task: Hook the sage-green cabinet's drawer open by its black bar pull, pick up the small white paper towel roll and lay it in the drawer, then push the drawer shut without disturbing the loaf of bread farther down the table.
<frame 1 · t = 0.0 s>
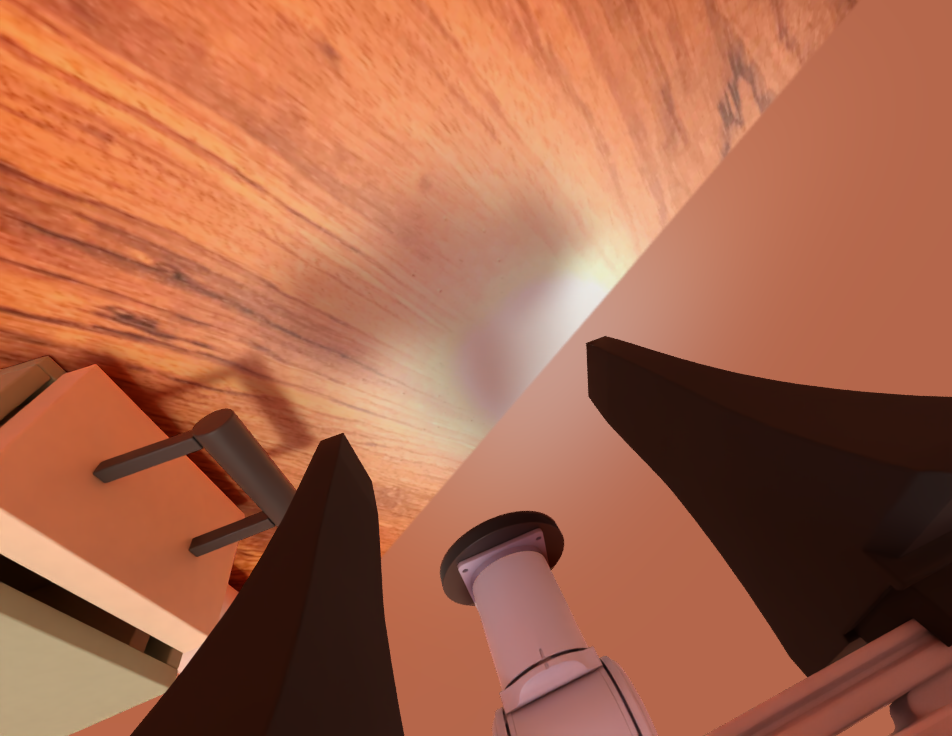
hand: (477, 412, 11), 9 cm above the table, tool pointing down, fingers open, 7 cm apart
paper towel roll: (213, 590, 23), on the table
drawer: (50, 545, 14), point 4 cm above the table, slide at 0.5 cm
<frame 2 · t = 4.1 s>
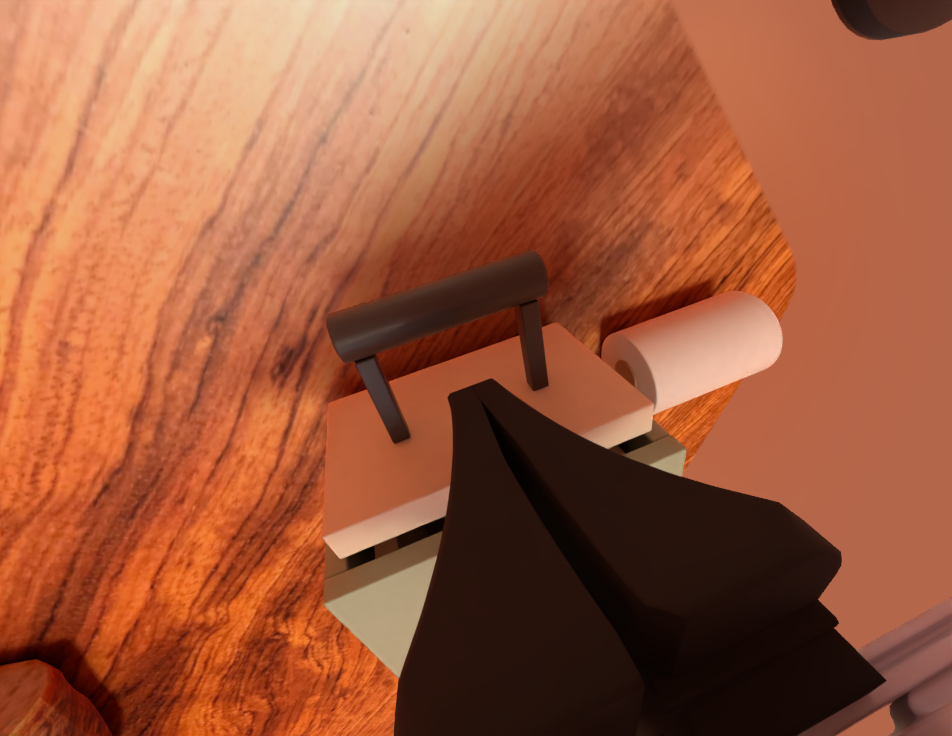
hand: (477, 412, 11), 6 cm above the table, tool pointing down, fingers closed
cabinet: (480, 470, 21), on the table
paper towel roll: (662, 365, 20), point 1 cm above the table, tilted 50°
drawer: (488, 472, 15), point 4 cm above the table, slide at 0.3 cm
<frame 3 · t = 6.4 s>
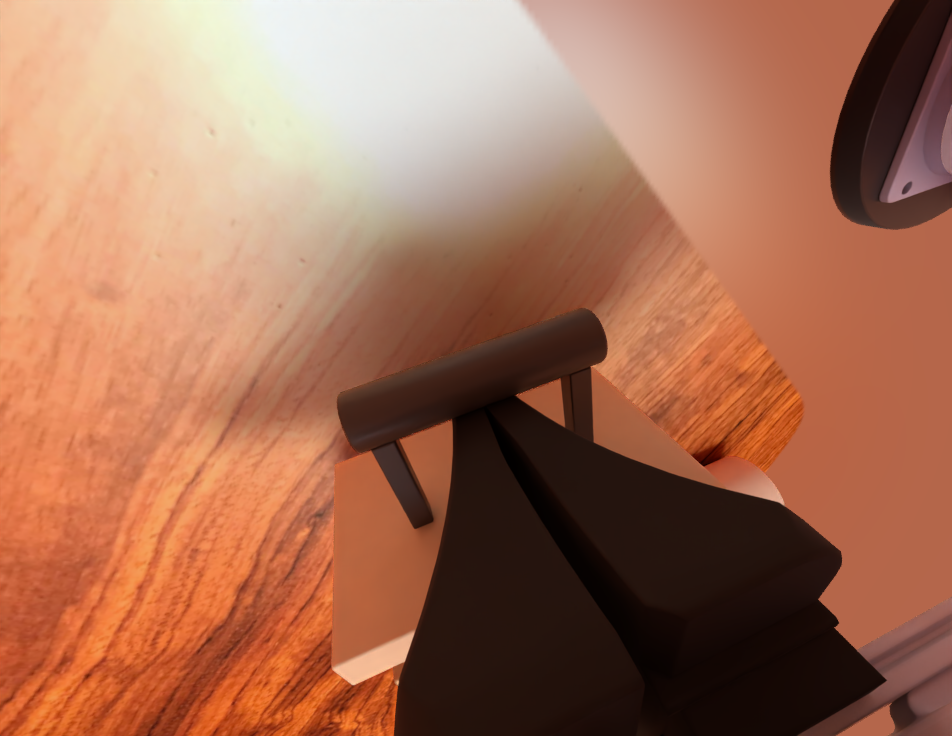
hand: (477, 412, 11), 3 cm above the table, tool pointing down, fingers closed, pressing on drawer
paper towel roll: (675, 488, 23), on the table, tilted 11°
drawer: (517, 541, 13), point 4 cm above the table, slide at 7.6 cm, touching gripper
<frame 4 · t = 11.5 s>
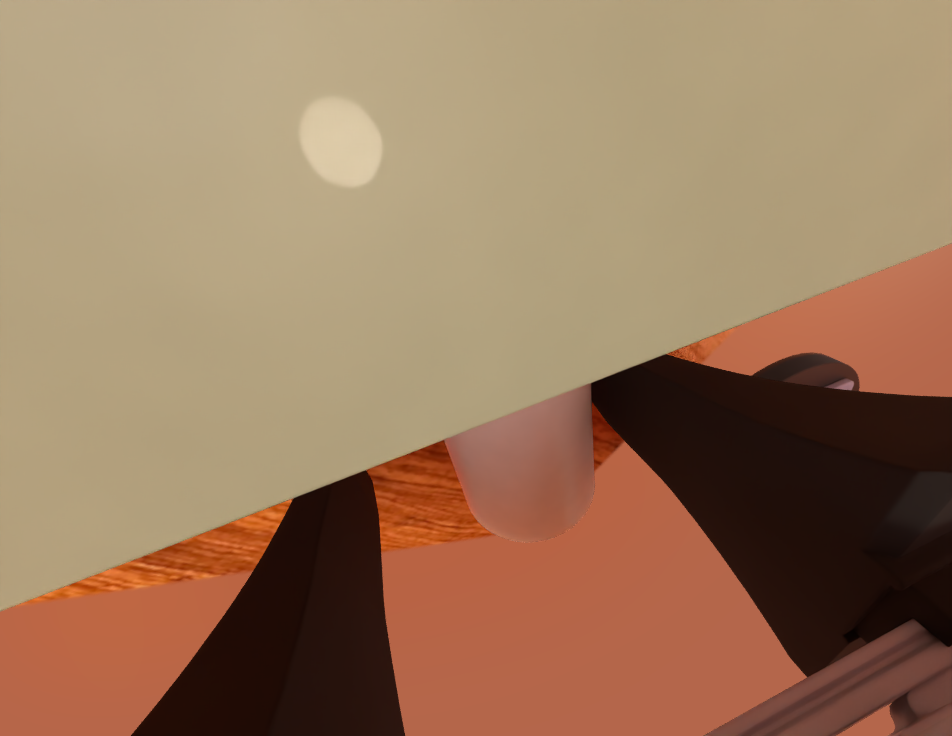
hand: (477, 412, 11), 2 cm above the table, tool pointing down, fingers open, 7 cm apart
paper towel roll: (448, 447, 10), point 3 cm above the table, tilted 103°
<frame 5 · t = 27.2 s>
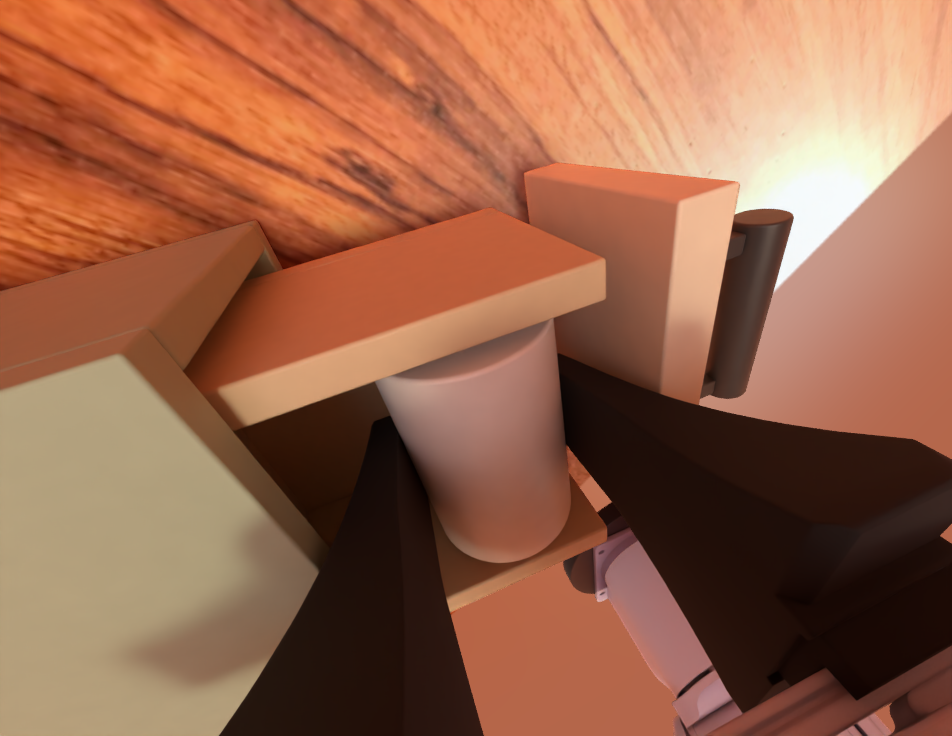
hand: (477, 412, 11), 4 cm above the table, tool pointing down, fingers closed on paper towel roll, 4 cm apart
cabinet: (148, 447, 13), on the table
paper towel roll: (419, 473, 9), point 6 cm above the table, tilted 110°, touching gripper
drawer: (505, 393, 11), point 4 cm above the table, slide at 7.6 cm
when the fingers open (8 cm above the table, at t = 33.7 s): paper towel roll drops 4 cm and tips over, resting on drawer.
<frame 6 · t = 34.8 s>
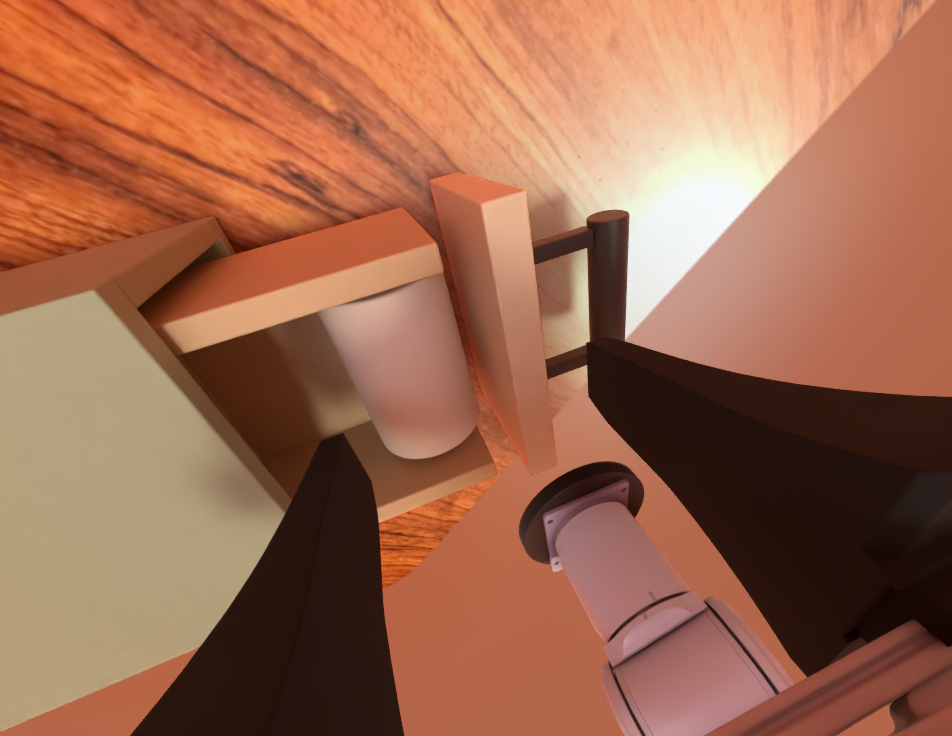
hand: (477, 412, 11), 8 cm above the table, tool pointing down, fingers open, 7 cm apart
cabinet: (130, 401, 15), on the table
paper towel roll: (367, 392, 12), point 5 cm above the table, tilted 132°, touching drawer
drawer: (414, 355, 14), point 4 cm above the table, slide at 7.6 cm, touching paper towel roll
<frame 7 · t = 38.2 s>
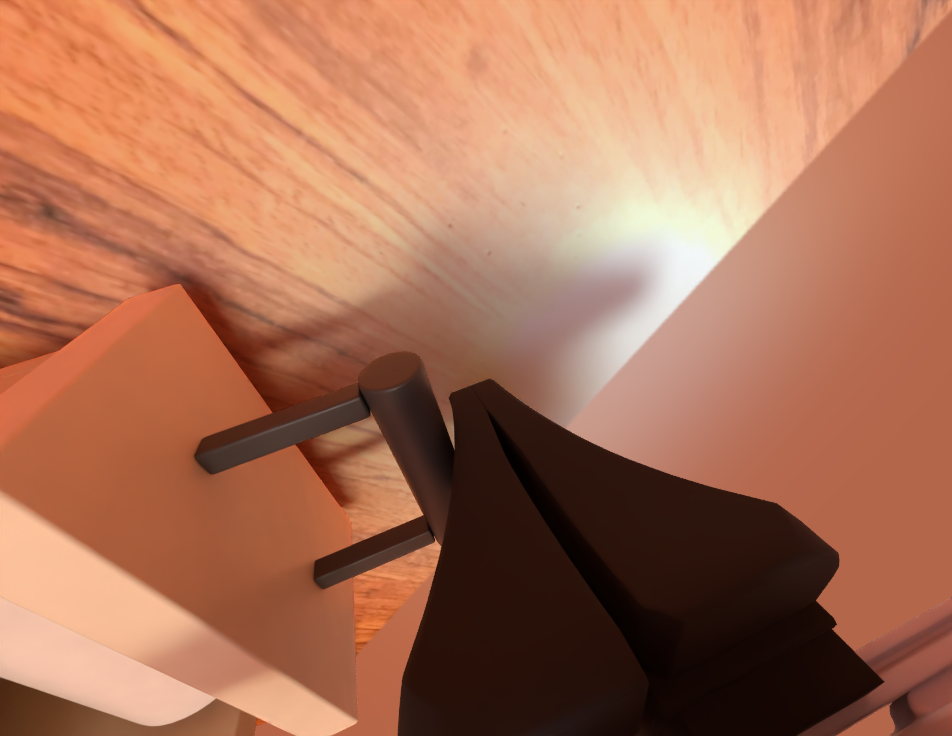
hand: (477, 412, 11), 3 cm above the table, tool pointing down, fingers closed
paper towel roll: (20, 684, 7), point 6 cm above the table, tilted 151°, touching drawer
drawer: (107, 576, 9), point 4 cm above the table, slide at 6.3 cm, touching gripper, paper towel roll
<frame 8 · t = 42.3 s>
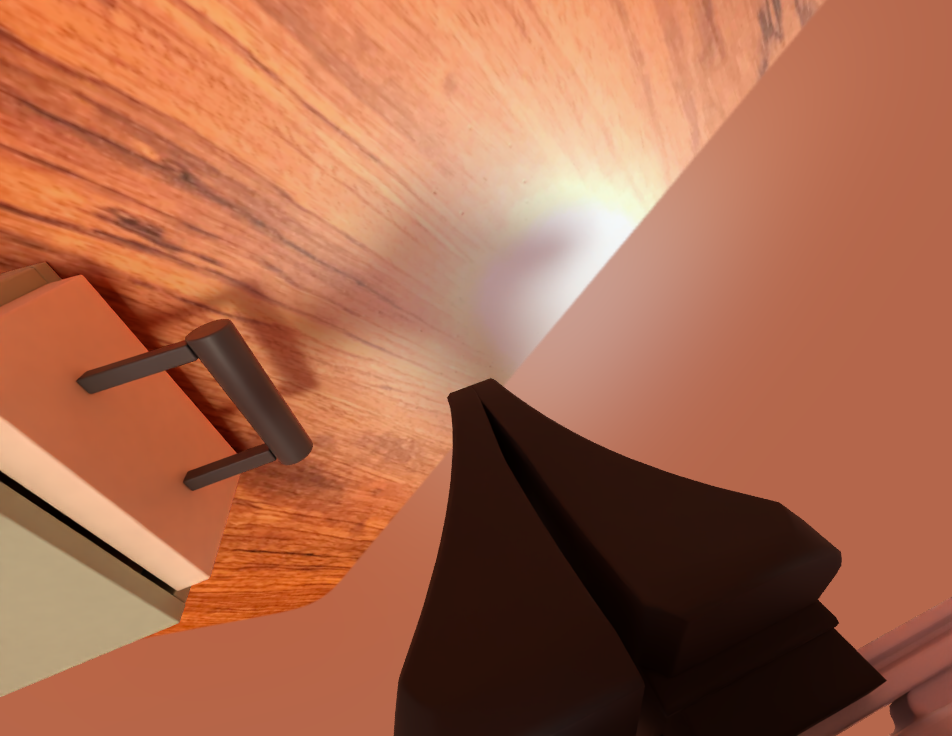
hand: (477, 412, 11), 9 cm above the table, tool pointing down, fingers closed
drawer: (32, 470, 13), point 4 cm above the table, slide at 0.0 cm, touching paper towel roll
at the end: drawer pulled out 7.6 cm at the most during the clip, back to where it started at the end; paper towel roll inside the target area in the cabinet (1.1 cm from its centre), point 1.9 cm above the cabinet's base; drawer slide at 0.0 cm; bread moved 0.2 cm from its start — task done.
